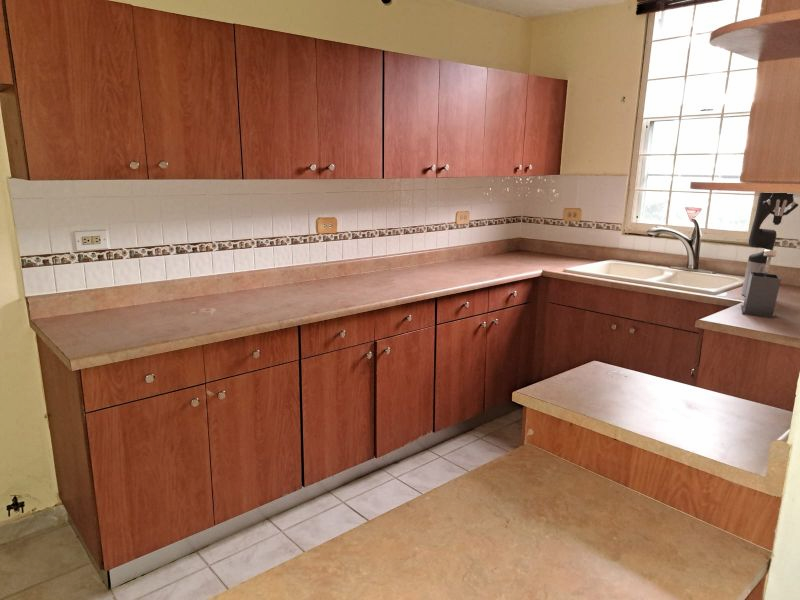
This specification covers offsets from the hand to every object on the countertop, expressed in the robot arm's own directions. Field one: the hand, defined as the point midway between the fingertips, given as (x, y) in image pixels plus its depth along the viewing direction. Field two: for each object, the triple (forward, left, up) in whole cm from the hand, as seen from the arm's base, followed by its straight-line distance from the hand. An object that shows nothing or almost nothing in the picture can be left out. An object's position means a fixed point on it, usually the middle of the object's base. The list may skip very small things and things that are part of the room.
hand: (776, 224), depth 246 cm
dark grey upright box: (0, 0, -39) cm, 39 cm away
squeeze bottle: (-20, 0, -40) cm, 44 cm away
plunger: (0, 0, -28) cm, 28 cm away
